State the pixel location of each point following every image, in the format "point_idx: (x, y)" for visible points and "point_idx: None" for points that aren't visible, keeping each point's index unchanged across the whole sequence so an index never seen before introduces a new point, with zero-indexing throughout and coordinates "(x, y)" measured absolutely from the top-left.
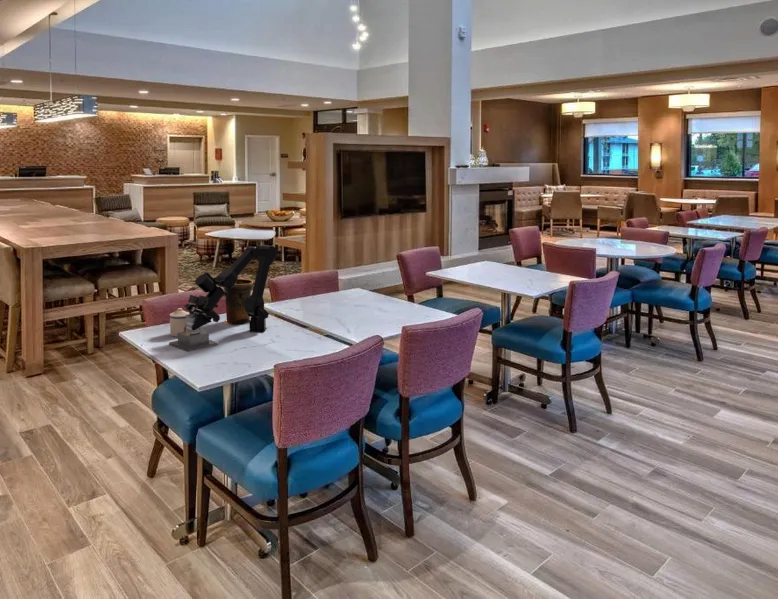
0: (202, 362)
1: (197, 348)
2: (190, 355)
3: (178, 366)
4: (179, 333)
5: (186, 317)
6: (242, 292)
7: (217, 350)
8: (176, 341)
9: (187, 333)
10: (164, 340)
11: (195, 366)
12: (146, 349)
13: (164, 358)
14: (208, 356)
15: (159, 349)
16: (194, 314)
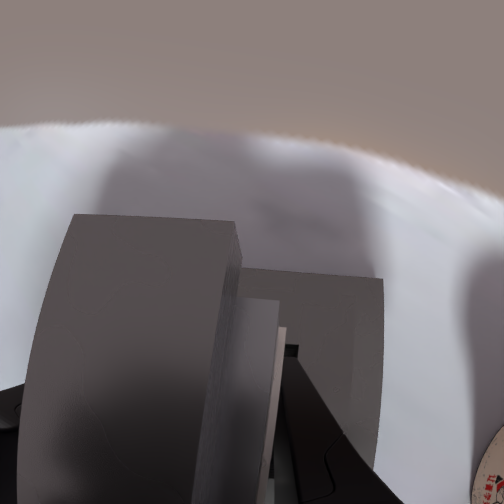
0: (6, 211)
1: None
2: None
3: (59, 136)
4: (325, 300)
5: (265, 307)
6: None
7: None
8: (367, 329)
9: None
10: (481, 321)
11: (12, 173)
12: (368, 155)
13: (163, 136)
14: (12, 277)
15: (321, 189)
16: (46, 428)
